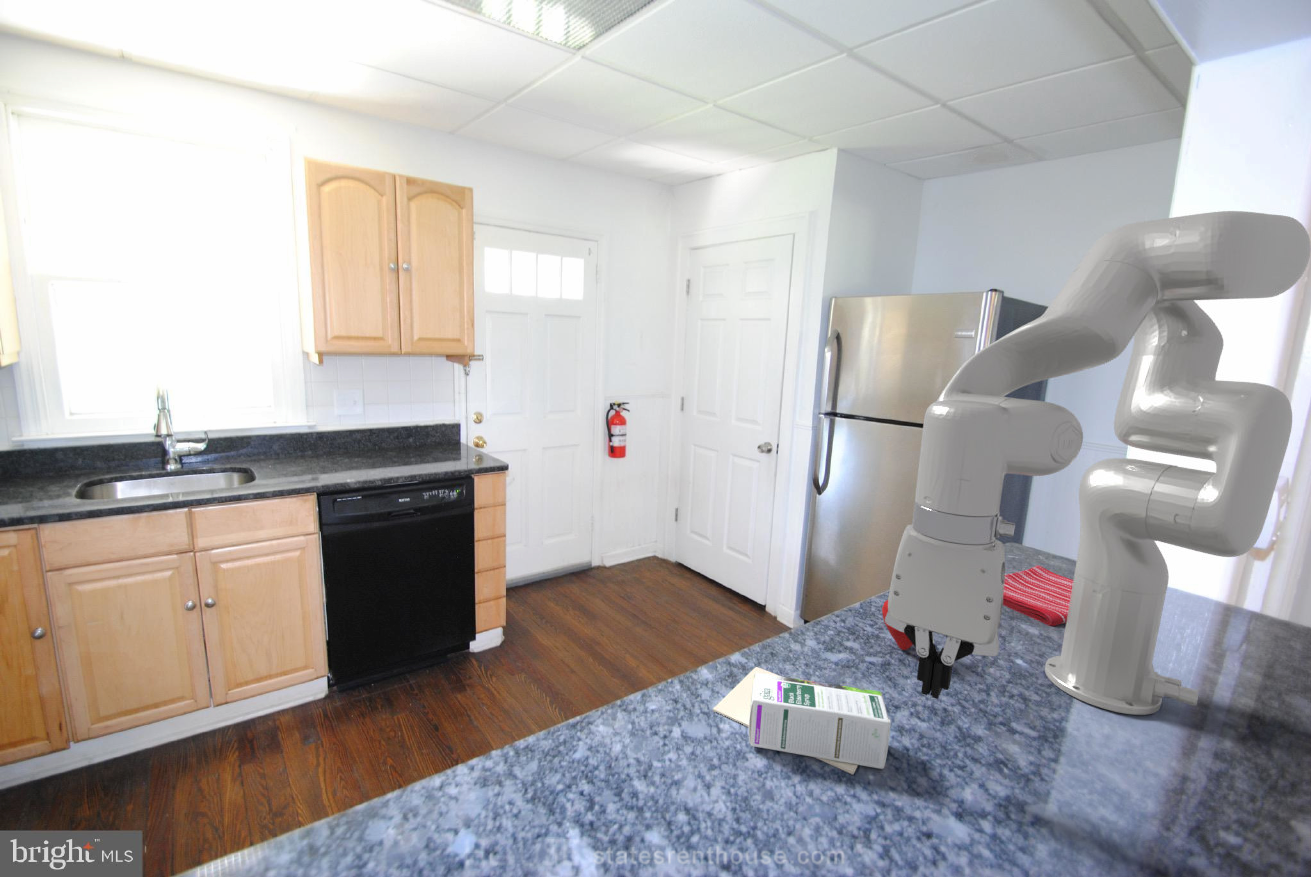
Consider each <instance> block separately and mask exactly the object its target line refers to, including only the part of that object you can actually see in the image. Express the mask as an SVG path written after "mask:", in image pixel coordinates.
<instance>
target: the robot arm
mask: <svg viewBox="0 0 1311 877" xmlns="http://www.w3.org/2000/svg"><path fill="white" fill-rule="evenodd" d="M1310 258H1311V240H1310V235H1309V233H1308V231H1307V229H1306V228H1305V226H1304V225H1303V224H1302V223H1301V222H1300V221H1299V220H1297V219H1296V218H1294V217H1291V216H1289V215H1281V214H1271V213H1270V214H1269V213H1264V212H1254V211H1253V212H1252V211H1241V210H1239V211H1238V210H1225V211H1224V210H1223V211H1221V210H1220V211H1212V212H1211V211H1210V212H1205V213H1204V212H1203V213H1198V214H1197V213H1196V214H1190V215H1181V216H1176V217H1175V216H1174V217H1167V218H1160V219H1158V218H1157V219H1153V220H1152V219H1151V220H1146V221H1144V220H1143V221H1139V222H1138V221H1137V222H1132V223H1128V224H1123V225H1120V226H1118V227H1116V228H1112V229H1110V230H1109V231H1106V232H1105V233H1103V235H1101V236H1100V237H1099V238H1098V239H1097V240H1096V241H1095V242H1094V243H1093V244H1092V245H1091V247H1090V248H1089V249H1088V251H1087V252H1086V254H1085V255H1084V256H1083V258H1082V260H1080V262H1079V263H1078V265H1076V267H1075V269H1074V270H1073V272H1072V274H1070V276H1069V278H1068V279H1067V280H1066V282H1065V283H1064V284H1063V286H1062V287H1061V289H1060V290H1059V292H1058V293H1057V294H1056V296H1055V297H1054V298H1053V300H1052V301H1051V303H1050V304H1049V306H1048V307H1047V308H1046V310H1045V311H1044V313H1043V314H1042V315H1041V316H1039V317H1037V318H1035V319H1034V320H1031V321H1029V322H1027V323H1026V324H1024V325H1021V326H1020V327H1017V328H1016V329H1014V330H1012V331H1011V332H1009V333H1007V334H1005V335H1003V336H1002V337H1000V338H999V339H997V340H995V341H994V342H992V343H990V344H988V345H987V346H985V347H984V348H982V349H980V350H979V351H978V352H976V353H975V354H974V355H971V357H970V358H968V359H967V360H966V361H965V362H964V363H962V365H961V366H960V368H959V369H958V370H957V371H956V372H955V373H954V375H953V377H952V378H951V379H950V381H949V382H948V383H947V385H946V386H945V387H944V389H943V390H942V392H941V393H940V395H939V397H938V398H937V400H936V401H934V402H932V403H931V404H929V406H928V407H927V409H926V411H925V413H924V417H923V418H924V419H923V426H922V433H921V444H920V452H919V461H918V469H917V470H918V471H917V476H916V486H915V487H916V488H915V497H914V504H913V513H912V524H908V525H906V526H905V529H904V530H903V531H904V532H903V534H902V537H901V539H900V543H899V546H898V550H897V553H896V557H895V562H894V566H893V572H892V575H891V583H890V586H889V591H888V592H889V593H888V598H889V599H888V598H887V600H888V612H887V615H886V617H885V622H886V624H888V625H889V626H891V627H893V628H895V629H897V630H899V631H901V632H904V633H905V635H906V636H907V637H908V639H909V640H910V641H911V642H912V644H913V647H914V648H915V652H916V654H917V656H918V657H919V658H918V667H917V674H916V680H917V681H919V682H922V684H921V692H920V693H921V694H922V695H924V696H928V695H930V696H931V697H932V698H933V699H936V700H939V697H940V695H941V693H942V690H946V691H949V690H950V685H951V681H952V673H953V666H954V663H955V662H957V661H959V660H962V659H964V658H966V657H967V656H969V655H977V656H978V655H979V656H987V657H996V656H997V655H998V654H999V650H1000V642H999V636H998V630H999V628H1000V625H1001V620H1002V613H1003V607H1004V605H1003V595H1004V582H1005V575H1006V560H1005V559H1006V557H1005V554H1006V553H1005V547H1004V543H1003V542H1001V541H1000V540H998V539H999V538H1000V537H1005V536H1006V537H1011V538H1013V537H1014V532H1015V528H1016V523H1015V522H1014V523H1013V522H1008V521H1007V520H1006V519H1005V520H1004V519H1003V516H1000V514H1001V513H1000V506H1001V502H1002V501H1001V500H1002V494H1003V485H1004V480H1005V479H1004V478H1005V475H1006V474H1012V475H1013V474H1014V475H1023V476H1031V477H1032V476H1033V477H1042V476H1050V475H1053V474H1056V473H1059V472H1060V471H1062V470H1064V469H1066V468H1068V467H1069V466H1070V465H1071V464H1072V463H1073V462H1074V461H1075V460H1076V458H1077V457H1078V455H1079V453H1080V451H1081V449H1082V447H1083V440H1084V433H1083V427H1082V425H1081V422H1080V420H1079V419H1078V418H1077V416H1076V415H1075V414H1074V413H1073V412H1071V410H1070V409H1068V408H1066V407H1064V406H1062V405H1059V404H1058V403H1057V404H1056V403H1053V402H1047V401H1042V400H1035V399H1027V398H1025V399H1024V398H1018V397H1017V398H1015V397H1010V396H1009V397H1008V396H1007V395H1009V394H1010V393H1012V392H1014V391H1016V390H1018V389H1021V388H1023V387H1025V386H1028V385H1031V384H1033V383H1034V384H1035V383H1037V382H1042V381H1045V380H1048V379H1049V380H1050V379H1053V378H1057V377H1062V376H1066V375H1071V374H1075V373H1078V372H1079V373H1080V372H1083V371H1086V370H1089V369H1093V368H1095V367H1098V366H1099V367H1100V366H1102V365H1105V364H1107V363H1110V362H1111V361H1113V360H1115V359H1117V358H1119V356H1121V354H1122V353H1123V352H1124V351H1125V350H1126V348H1127V347H1128V345H1129V344H1130V342H1131V340H1132V339H1133V345H1132V350H1131V354H1130V358H1129V362H1128V365H1127V369H1126V374H1125V377H1124V380H1123V383H1122V388H1121V391H1120V394H1119V398H1118V402H1117V405H1116V409H1115V414H1114V420H1113V421H1114V422H1113V431H1114V435H1115V436H1116V438H1117V439H1118V440H1119V441H1120V442H1121V443H1123V444H1124V445H1126V446H1130V447H1132V448H1136V449H1139V450H1145V451H1149V452H1155V453H1156V452H1157V453H1163V454H1167V455H1168V454H1169V455H1174V456H1180V457H1181V456H1182V457H1187V458H1194V459H1201V460H1206V461H1207V460H1208V461H1212V462H1214V463H1215V466H1216V468H1215V469H1216V471H1215V472H1212V471H1208V470H1201V469H1196V468H1195V469H1194V468H1189V467H1183V466H1178V465H1172V464H1168V463H1161V462H1156V461H1148V460H1142V459H1136V458H1135V459H1134V458H1127V457H1126V458H1124V457H1121V458H1120V457H1118V458H1117V457H1114V458H1105V459H1102V460H1100V461H1097V462H1095V463H1093V464H1091V465H1090V466H1088V468H1087V469H1086V470H1085V472H1084V474H1083V476H1082V478H1081V480H1080V483H1079V488H1078V490H1079V492H1078V493H1079V494H1078V500H1079V501H1078V502H1079V503H1078V504H1079V514H1080V517H1079V518H1080V519H1079V520H1080V522H1079V523H1080V525H1079V526H1080V528H1079V529H1080V532H1079V543H1078V544H1079V545H1078V551H1077V556H1076V557H1077V558H1076V563H1075V570H1074V573H1073V574H1074V576H1073V579H1072V580H1073V586H1072V592H1071V598H1070V604H1069V610H1068V616H1067V622H1066V623H1065V628H1064V629H1065V630H1064V633H1063V634H1064V635H1063V640H1062V646H1061V647H1062V648H1061V653H1060V655H1056V656H1052V657H1049V658H1048V659H1047V660H1046V662H1045V664H1044V665H1045V666H1044V672H1045V675H1046V677H1047V678H1048V679H1049V681H1050V682H1052V683H1053V684H1054V686H1057V687H1058V688H1059V689H1060V690H1062V691H1063V692H1065V693H1066V694H1068V695H1070V696H1072V697H1074V698H1075V699H1078V700H1080V701H1082V702H1085V703H1087V704H1089V705H1092V706H1094V707H1098V708H1101V709H1104V710H1107V711H1111V712H1115V713H1119V714H1120V713H1121V714H1124V715H1135V716H1145V715H1150V714H1151V715H1152V714H1154V713H1156V712H1158V711H1159V710H1160V709H1161V705H1162V699H1163V698H1164V697H1166V698H1168V699H1173V700H1175V701H1177V702H1181V703H1184V704H1186V705H1191V706H1193V707H1196V706H1197V705H1198V699H1199V691H1198V690H1197V689H1193V688H1189V687H1186V686H1182V680H1181V679H1178V678H1174V677H1170V676H1165V675H1161V674H1159V673H1158V671H1156V670H1155V668H1154V665H1153V661H1154V655H1155V651H1156V645H1157V640H1158V635H1159V630H1160V626H1161V625H1160V624H1161V620H1162V615H1163V610H1164V605H1165V600H1166V594H1167V590H1168V584H1169V578H1170V577H1169V569H1168V565H1167V563H1166V560H1165V558H1164V555H1163V554H1162V551H1161V550H1160V548H1159V546H1158V544H1157V543H1156V542H1160V543H1164V544H1168V545H1171V546H1172V545H1173V546H1176V547H1179V548H1184V549H1188V550H1191V551H1195V552H1198V553H1202V554H1203V553H1204V554H1207V555H1212V556H1216V557H1222V558H1234V557H1240V556H1243V555H1245V554H1246V553H1248V552H1249V551H1250V550H1252V549H1253V547H1254V546H1255V545H1256V544H1257V541H1258V540H1259V538H1260V537H1261V535H1262V531H1263V528H1264V526H1265V523H1266V520H1267V517H1268V513H1269V510H1270V506H1271V503H1272V500H1273V497H1274V493H1275V490H1276V487H1277V483H1278V480H1279V476H1280V473H1281V470H1282V466H1283V463H1284V459H1285V456H1286V452H1287V448H1288V446H1289V442H1290V437H1291V434H1292V428H1293V410H1292V406H1291V402H1290V400H1289V398H1288V397H1287V395H1286V394H1285V393H1284V392H1283V391H1282V390H1280V389H1278V388H1276V387H1274V386H1271V385H1267V384H1264V383H1258V382H1249V381H1234V380H1216V375H1217V372H1218V369H1219V368H1218V367H1219V363H1220V360H1221V356H1222V353H1223V349H1224V339H1223V335H1222V333H1221V330H1220V329H1219V328H1218V326H1217V325H1216V323H1215V322H1214V320H1213V319H1212V318H1211V317H1210V315H1208V313H1207V312H1205V311H1204V309H1202V307H1201V306H1199V305H1198V303H1197V302H1196V301H1212V300H1213V301H1214V300H1238V299H1239V300H1240V299H1241V300H1242V299H1243V300H1244V299H1267V298H1273V297H1278V296H1279V295H1281V294H1284V293H1285V292H1287V291H1289V290H1290V289H1292V287H1293V286H1295V285H1296V284H1297V283H1298V281H1299V280H1300V279H1301V278H1302V276H1303V274H1304V273H1305V271H1306V269H1307V267H1308V265H1309V261H1310ZM934 633H936V634H938V635H942V636H944V637H947V638H946V642H945V643H944V646H943V647H942V648H941V649H940V652H939V651H937V650H938V649H937V646H936V645H935V639H934V637H935V635H934Z"/></svg>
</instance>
